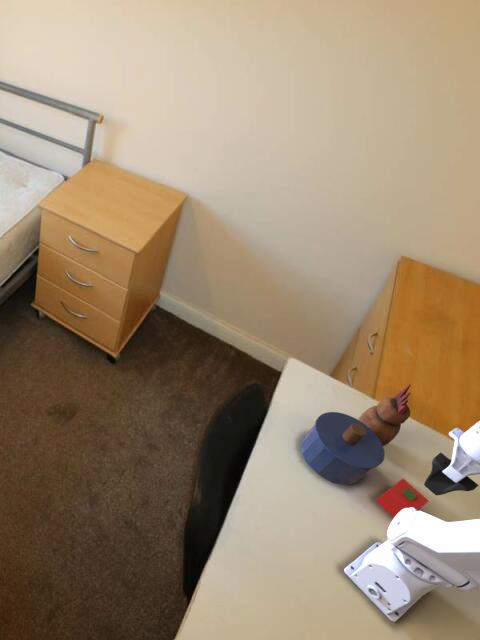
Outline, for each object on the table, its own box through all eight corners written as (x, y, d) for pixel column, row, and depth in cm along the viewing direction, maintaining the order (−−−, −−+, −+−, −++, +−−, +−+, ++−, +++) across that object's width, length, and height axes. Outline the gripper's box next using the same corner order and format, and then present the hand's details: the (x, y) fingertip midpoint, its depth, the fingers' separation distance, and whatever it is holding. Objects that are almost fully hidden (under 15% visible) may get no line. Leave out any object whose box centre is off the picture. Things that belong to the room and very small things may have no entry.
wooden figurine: (355, 417, 104) (398, 372, 95) (387, 437, 101) (435, 392, 92) (344, 437, 101) (387, 392, 91) (376, 458, 98) (425, 414, 88)
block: (400, 523, 89) (416, 511, 86) (375, 500, 92) (389, 488, 89) (414, 511, 90) (430, 499, 87) (389, 489, 93) (404, 477, 90)
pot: (339, 494, 92) (358, 477, 88) (289, 447, 99) (304, 428, 95) (372, 469, 96) (392, 451, 92) (322, 425, 103) (338, 407, 99)
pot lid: (357, 481, 88) (371, 469, 85) (299, 429, 95) (310, 416, 92) (394, 454, 92) (408, 441, 89) (336, 406, 99) (348, 393, 97)
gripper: (495, 395, 82) (441, 440, 91) (446, 433, 76) (394, 477, 85) (549, 431, 77) (486, 475, 86) (501, 475, 72) (440, 516, 80)
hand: (443, 478), depth 85 cm, fingers open, 7 cm apart
